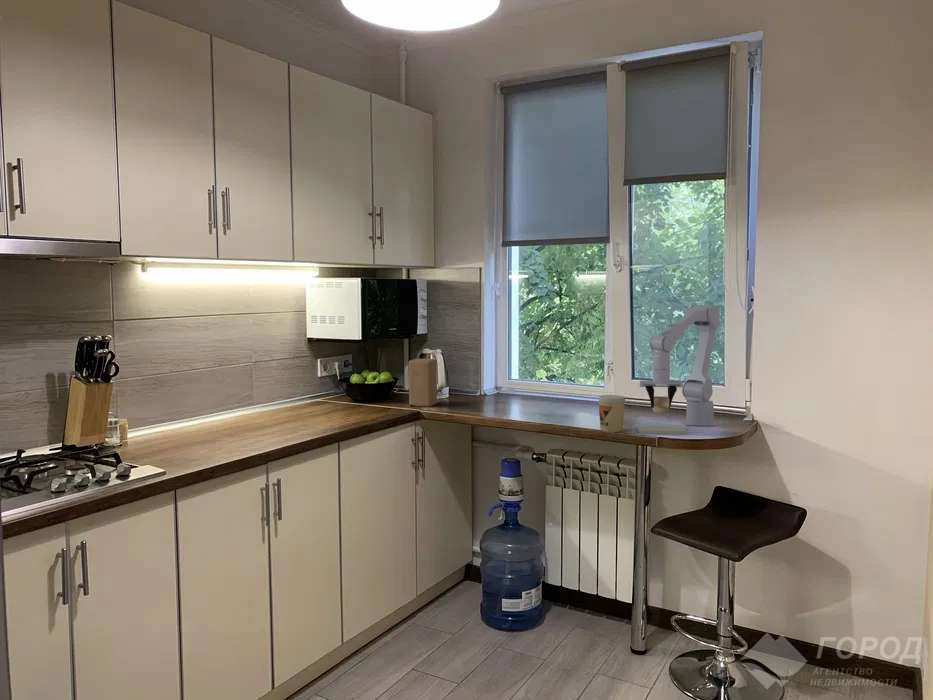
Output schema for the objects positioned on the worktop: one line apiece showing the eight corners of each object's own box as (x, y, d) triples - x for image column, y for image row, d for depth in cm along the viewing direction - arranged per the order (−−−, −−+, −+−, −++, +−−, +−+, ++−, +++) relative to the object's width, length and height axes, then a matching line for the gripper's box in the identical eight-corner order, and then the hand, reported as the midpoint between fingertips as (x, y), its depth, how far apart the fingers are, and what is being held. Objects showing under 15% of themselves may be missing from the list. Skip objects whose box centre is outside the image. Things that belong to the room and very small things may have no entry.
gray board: (680, 427, 259) (680, 424, 259) (686, 434, 247) (686, 431, 247) (635, 427, 261) (635, 423, 261) (639, 433, 249) (639, 430, 249)
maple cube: (666, 410, 256) (666, 396, 256) (668, 412, 251) (669, 398, 251) (652, 410, 257) (652, 396, 256) (654, 412, 252) (654, 398, 251)
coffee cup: (593, 428, 259) (593, 395, 258) (615, 426, 262) (615, 394, 261) (607, 433, 250) (607, 399, 249) (630, 431, 254) (630, 397, 253)
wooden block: (408, 406, 311) (407, 360, 309) (416, 402, 320) (416, 358, 319) (430, 407, 308) (429, 360, 306) (437, 403, 317) (437, 358, 316)
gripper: (641, 370, 249) (641, 408, 250) (684, 370, 248) (683, 409, 249) (639, 367, 256) (638, 405, 257) (681, 368, 255) (680, 406, 256)
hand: (660, 407), depth 254 cm, fingers closed on maple cube, 5 cm apart
